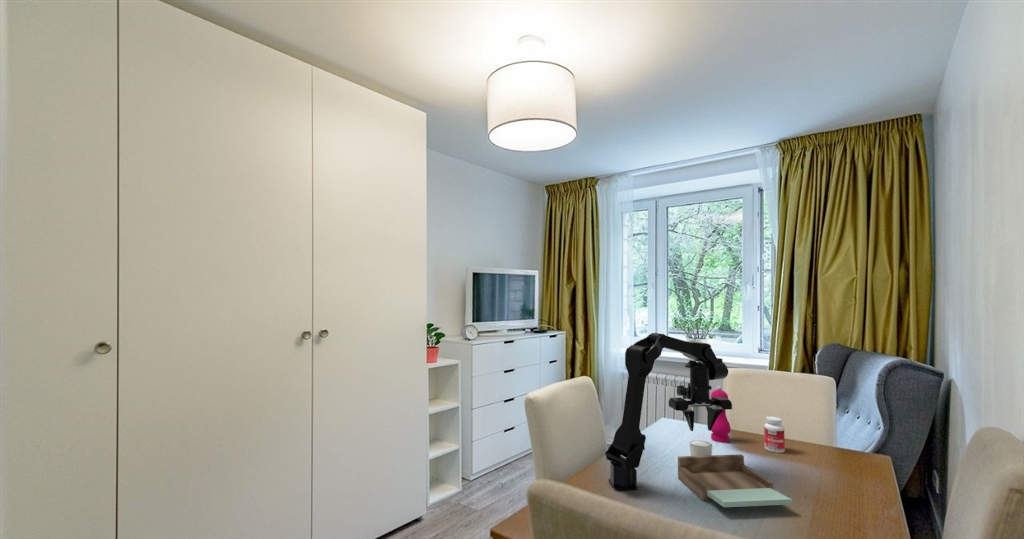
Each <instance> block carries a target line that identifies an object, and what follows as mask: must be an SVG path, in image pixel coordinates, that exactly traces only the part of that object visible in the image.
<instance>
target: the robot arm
mask: <svg viewBox="0 0 1024 539" xmlns="http://www.w3.org/2000/svg"><path fill="white" fill-rule="evenodd" d="M663 349H667V350H670V351H674V352H677V353H678V352H679V353H681V354H682V355H683V356H684V357H685V358H688V359H690V360H689V361H688V362H686V364H685V365H684V367H685V368H686V369H687V368H688V369H689V382H688V383H687V387H685V386H684V385H677V386H676V395H677V397H670V398H669V400H668V407H670V408H671V409H673V410H675V411H680V412H682V413H683V415H684V418H685V420H686V422H687V424H688V428H689V430H690V431H691V432H693V431H694V428H695V411H694V410H693V409H692V407H693V408H694V407H705V410H706V412H707V418H706V420H707V424H706V426H707V431H710V432H712V431H711V429H712V427H713V425H714V423H715V421H716V419H717V418H718V416H719V415H720V413H721V412H723V410H722V409H724V410H733V403H732V401H731V400H730V399H729V398H728V399H726V398H724V397H712V398H711V394H710V390H712V386H711V385H710V381H716V380H724V379H726V378H727V377H728V375H729V369H728V367H727V365H726V364H725V363H724V362H723V358H720V357H717V356H716V354H715V351H713V349H712V346H711V344H709V343H706V342H698V341H690V340H689V341H686V340H683V339H678V338H675V337H672V336H669V335H665V334H664V333H658V332H657V333H656V332H652V333H650V334H648V335H647V336H646V337H644V338H642V339H640V340H638V341H636V342H634V344H631V345H630V346H628V347H627V348H626V350H625V353H624V365H625V368H626V370H627V374H628V377H627V384H626V391H625V398H624V399H625V400H624V406H623V412H622V413H623V414H622V420H621V424H620V425H619V427H618V428H617V429H616V431H615V433H614V437H613V440H612V442H611V444H610V445H609V447H608V448H607V450H606V451H605V453H604V455H605V458H606V461H610V462H609V463H610V466H609V468H610V470H609V472H610V473H609V477H610V478H608V482H609V483H610V485H611V486H612V488H613V489H614V490H615V491H627V490H628V491H632V490H638V486H637V483H638V482H637V480H638V479H637V476H638V475H637V474H638V472H637V471H638V470H637V469H636V468H639V466H640V464H641V459H642V456H643V454H644V453H643V452H644V451H645V450H646V448H645V444H646V439H647V437H646V434H643V433H642V431H641V429H640V424H641V417H642V410H643V401H644V395H645V387H646V378H647V377H648V376H649V375H650V373H651V372H652V371H653V368H654V364H655V361H656V360H657V359H658V358H659V357H660V356H661V355H662V353H663ZM678 396H679V397H678ZM680 396H681V397H680ZM686 399H687V400H686ZM721 408H722V409H721Z"/></svg>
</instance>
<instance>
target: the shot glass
mask: <svg viewBox="0 0 1024 539" xmlns="http://www.w3.org/2000/svg"><path fill="white" fill-rule="evenodd" d="M712 450H713V444H712V443H710V442H708V441H705V440H698V439H697V440H690V441H689V453H690V454H689V455H690V456H709V455H713V453H712V452H713V451H712Z"/></svg>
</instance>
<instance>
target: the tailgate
mask: <svg viewBox="0 0 1024 539" xmlns="http://www.w3.org/2000/svg"><path fill="white" fill-rule="evenodd" d="M707 496H708V497H710V498H711V499H713V500H714V502H715V503H717V504H718V505H720V506H722V507H723V508H736V507H737V508H739V507H759V506H760V507H763V506H765V507H766V506H780V505H781V506H784V505H793V499H792V498H790V497H788V496H787V495H785V494H782V492H779V491H777V490H775V489H774V488H773V489H771V488H759V489H735V490H710V491H707Z"/></svg>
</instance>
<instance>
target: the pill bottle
mask: <svg viewBox="0 0 1024 539" xmlns="http://www.w3.org/2000/svg"><path fill="white" fill-rule="evenodd" d="M765 419H766V420H765V421H766V423H765V424H764V425H763V434H764V435H763V438H764V439H763V442H764V444H763V445H764V449H765V451H768V452H771V453H776V454H782V453H783V454H784V452H785V450H786V448H785V447H786V445H785V443H786V442H785V427H784V426H783V425H782V424H783V423H782V421H783V420H782V418H781V417H776V416H766V417H765Z"/></svg>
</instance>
